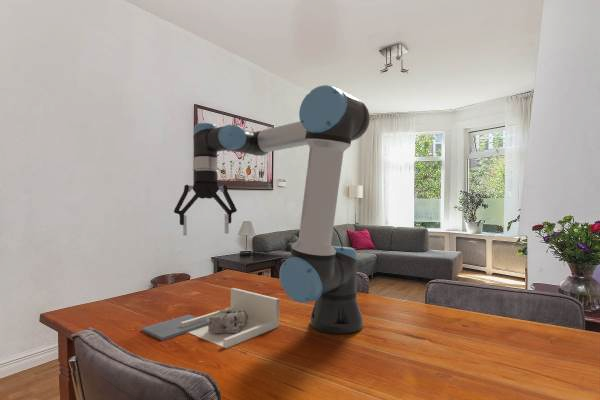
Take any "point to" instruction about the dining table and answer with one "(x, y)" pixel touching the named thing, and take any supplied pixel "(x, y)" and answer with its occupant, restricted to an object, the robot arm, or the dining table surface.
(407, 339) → the dining table surface
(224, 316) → the stone
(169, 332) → the slate pad
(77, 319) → the dining table surface
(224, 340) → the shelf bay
